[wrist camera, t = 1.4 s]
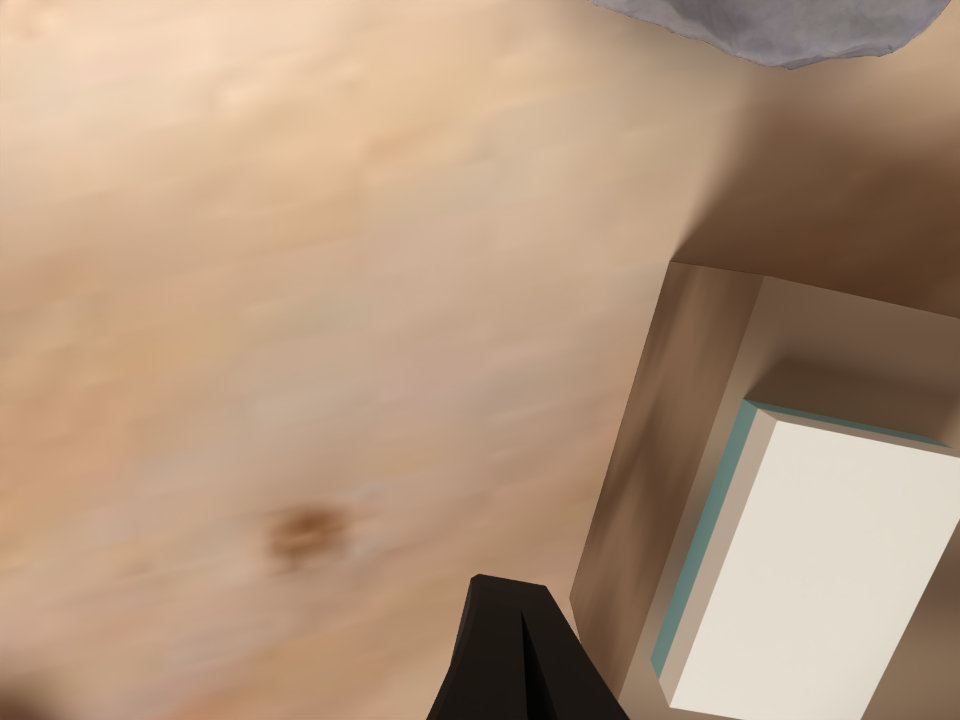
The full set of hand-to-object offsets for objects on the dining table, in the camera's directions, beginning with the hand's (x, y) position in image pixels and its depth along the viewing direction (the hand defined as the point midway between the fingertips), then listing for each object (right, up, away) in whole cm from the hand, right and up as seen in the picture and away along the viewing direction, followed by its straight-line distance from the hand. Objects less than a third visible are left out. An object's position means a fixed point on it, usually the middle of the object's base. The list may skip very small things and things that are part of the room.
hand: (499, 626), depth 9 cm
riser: (+11, 0, +11) cm, 15 cm away
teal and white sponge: (+8, -1, +5) cm, 9 cm away
